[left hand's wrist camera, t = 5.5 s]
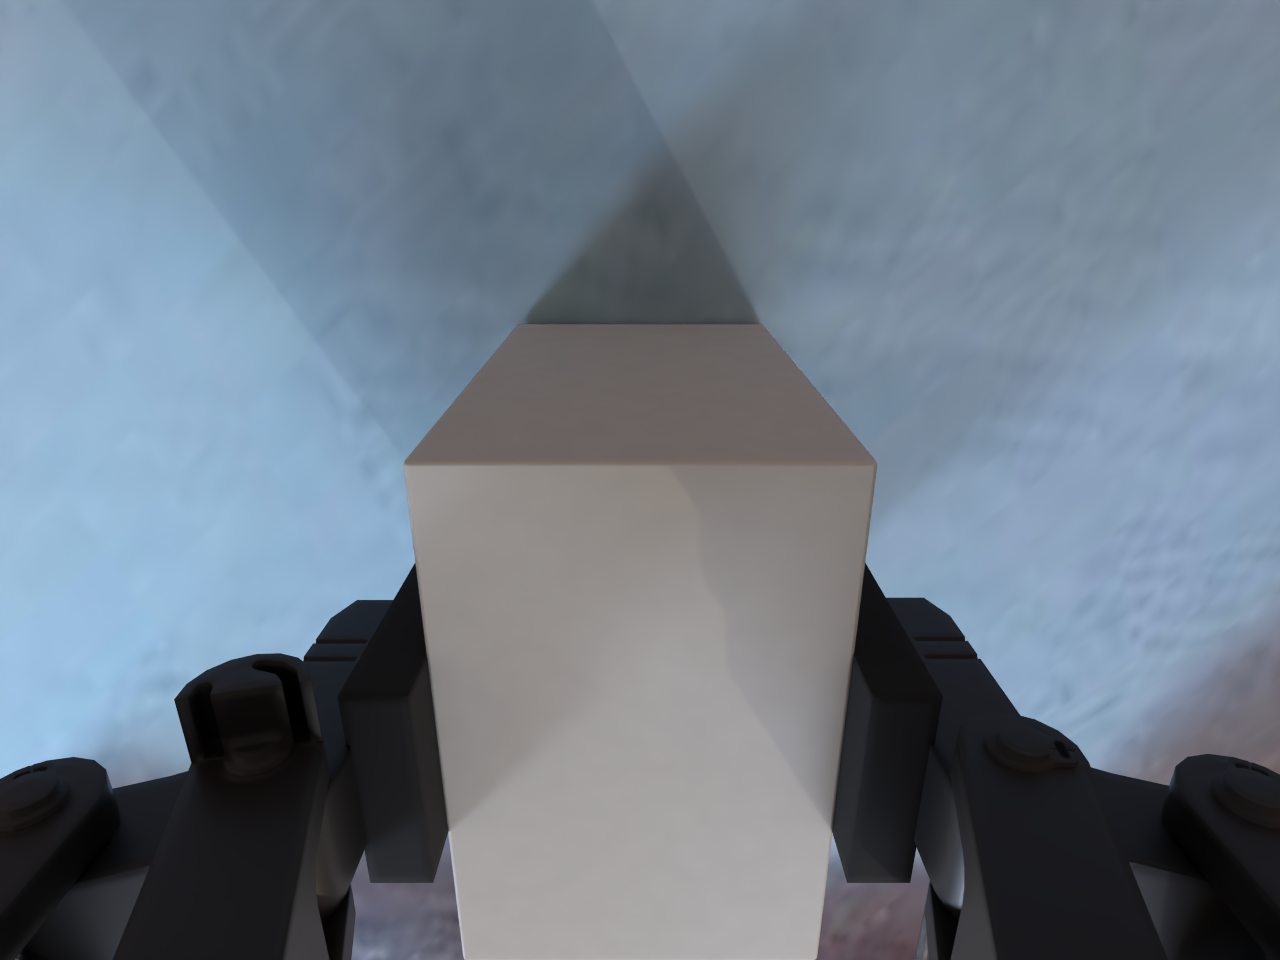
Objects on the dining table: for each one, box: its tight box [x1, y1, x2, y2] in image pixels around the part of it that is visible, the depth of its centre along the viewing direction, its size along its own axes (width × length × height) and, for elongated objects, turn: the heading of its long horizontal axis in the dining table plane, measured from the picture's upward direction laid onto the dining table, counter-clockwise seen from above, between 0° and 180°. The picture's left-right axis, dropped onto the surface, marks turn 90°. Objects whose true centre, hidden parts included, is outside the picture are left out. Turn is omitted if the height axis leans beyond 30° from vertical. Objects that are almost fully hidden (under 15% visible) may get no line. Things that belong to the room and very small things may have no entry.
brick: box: [404, 324, 877, 960], centre depth 13 cm, size 5×8×8 cm, turn 0°
